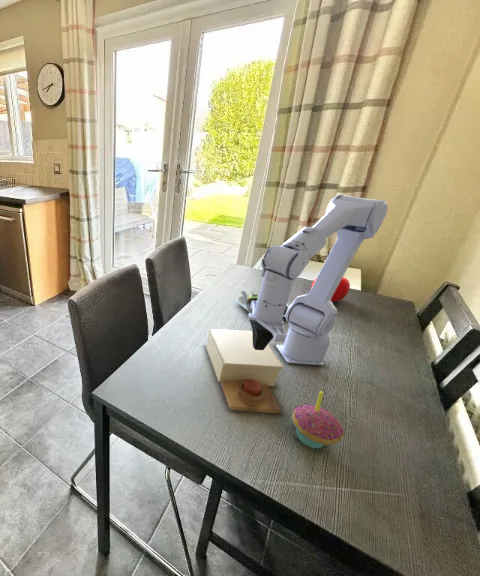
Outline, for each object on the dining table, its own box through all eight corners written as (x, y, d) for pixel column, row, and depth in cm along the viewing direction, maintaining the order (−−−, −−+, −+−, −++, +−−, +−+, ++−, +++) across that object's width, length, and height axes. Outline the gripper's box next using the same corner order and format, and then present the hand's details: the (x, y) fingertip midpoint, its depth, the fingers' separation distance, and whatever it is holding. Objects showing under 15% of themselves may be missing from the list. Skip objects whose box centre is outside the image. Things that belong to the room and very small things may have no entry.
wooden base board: (265, 387, 76) (269, 378, 75) (279, 413, 69) (283, 404, 68) (220, 384, 77) (222, 375, 76) (229, 409, 70) (232, 400, 69)
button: (256, 385, 73) (258, 379, 73) (262, 396, 70) (263, 391, 69) (240, 384, 74) (242, 378, 73) (245, 395, 71) (247, 389, 70)
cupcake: (278, 422, 67) (294, 381, 62) (314, 419, 68) (333, 378, 62) (305, 459, 59) (326, 416, 54) (346, 456, 60) (370, 412, 55)
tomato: (352, 305, 113) (363, 280, 108) (318, 305, 113) (327, 280, 108) (332, 291, 123) (341, 268, 118) (300, 291, 123) (308, 268, 118)
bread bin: (274, 386, 77) (280, 368, 74) (218, 382, 78) (222, 364, 75) (253, 350, 90) (258, 333, 87) (206, 347, 91) (209, 331, 88)
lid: (282, 369, 73) (283, 366, 73) (224, 365, 74) (224, 363, 74) (258, 333, 87) (258, 331, 87) (209, 330, 88) (209, 328, 88)
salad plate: (222, 297, 119) (224, 286, 117) (262, 292, 122) (265, 282, 120) (256, 324, 102) (259, 312, 100) (301, 317, 105) (305, 306, 103)
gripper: (243, 284, 75) (232, 330, 81) (267, 315, 62) (251, 367, 68) (273, 285, 74) (259, 331, 80) (303, 317, 61) (285, 369, 67)
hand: (258, 348), depth 74 cm, fingers closed
